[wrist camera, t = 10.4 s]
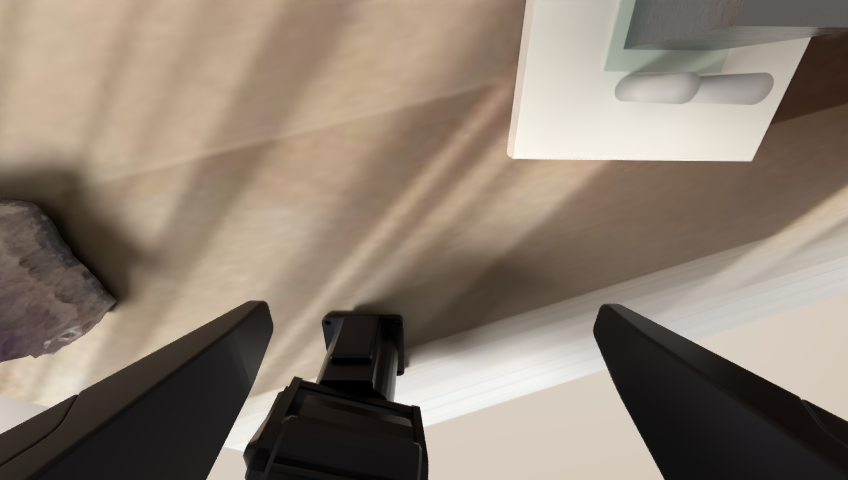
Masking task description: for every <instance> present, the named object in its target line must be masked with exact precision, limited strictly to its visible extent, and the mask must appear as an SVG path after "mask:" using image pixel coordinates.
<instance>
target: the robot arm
mask: <svg viewBox="0 0 848 480" xmlns="http://www.w3.org/2000/svg"><path fill="white" fill-rule="evenodd" d="M327 320H328V321H330V322H328V321H327ZM395 321H399V322H398V323H397V322H395ZM322 327H323V332H324V338H325V344H326V349H327V354H326V356H325V359H324V362H323V365H322V367H321V370H320V373H319V375H318V378H317V381H316V383H313V382H309V381H305V380H302V379H303V378H299V377H295V376H294V378H293V380H292V382H291V384H290V385H289V387H288V386H286V388H285V389H284V391H282V392H279V393H278V395H277V397H276V399H275V401H274V403H273V406H272V408H271V410H270V412H269V413H268V415H267V417H266V419H265V420H264V422H263V423H262V424H261V426H260V427H259V429H258V430H257V432H256V433H255V434H254V436H253V437H252V439H251V440H250V441H249V443H248V445H247V447H246V449H245V451H244V454H243V458H244V460H245V463H246V466H247V471H246V474H245V479H246V480H428V454H427V448H426V442H425V436H424V430H423V424H422V417H421V411H420V407H419V406H414V405H412V406H408V405H404V404H400V403H396V402H394V395H395V385H396V376H401V375H403V374H404V329H403V318H402V317H401V316H398V315H326V316H324V318H323V320H322ZM272 333H273V322H272V318H271V314H270V310H269V307H268V304H267V302H265V301H248V302H246V303H244V304H242V305H240V306H238V307H237V308H235V309H233V310H231V311H229V312H227V313H226V314H224V315H222V316H220V317H218V318H216V319H214V320H213V321H211V322H209V323H207V324H205V325H203V326H201V327H200V328H198V329H196V330H194V331H192V332H190V333H188V334H187V335H185V336H183V337H181V338H179V339H177V340H176V341H174V342H172V343H170V344H168V345H166V346H164V347H163V348H161V349H159V350H157V351H155V352H153V353H151V354H150V355H148V356H146V357H144V358H142V359H140V360H138V361H137V362H135V363H133V364H131V365H129V366H127V367H125V368H124V369H122V370H120V371H118V372H116V373H114V374H113V375H111V376H109V377H107V378H105V379H103V380H101V381H100V382H98V383H96V384H94V385H92V386H90V387H88V388H87V389H85V390H83V391H81V392H80V393H79V395H73V396H72V397H70V398H68V399H66V400H64V401H62V402H60V403H59V404H57V405H55V406H53V407H51V408H49V409H48V410H46V411H44V412H42V413H40V414H38V415H36V416H34V417H32V418H30V419H29V420H27V421H25V422H23V423H21V424H19V425H17V426H15V427H13V428H11V429H10V430H8V431H6V432H4V433H2V434H0V480H206V479H207V477H208V475H209V473H210V471H211V469H212V467H213V465H214V463H215V461H216V459H217V457H218V455H219V453H220V450H221V449H222V447H223V445H224V443H225V441H226V439H227V437H228V435H229V433H230V431H231V429H232V427H233V425H234V423H235V421H236V419H237V417H238V415H239V413H240V411H241V409H242V407H243V405H244V403H245V401H246V399H247V397H248V395H249V392H250V390H251V388H252V386H253V383H254V381H255V379H256V376H257V373H258V371H259V368H260V365H261V363H262V360H263V357H264V355H265V352H266V349H267V347H268V344H269V341H270V339H271V336H272ZM593 333H594V337H595V339H596V342H597V344H598V347H599V349H600V351H601V354H602V356H603V359H604V361H605V363H606V366H607V368H608V371H609V373H610V376H611V378H612V380H613V383H614V385H615V387H616V389H617V391H618V393H619V395H620V397H621V399H622V401H623V403H624V405H625V407H626V409H627V410H628V412H629V414H630V416H631V418H632V420H633V422H634V424H635V425H636V427H637V429H638V431H639V433H640V435H641V437H642V438H643V440H644V442H645V444H646V446H647V448H648V449H649V452H650V453H651V455H652V457H653V459H654V461H655V463H656V464H657V466H658V468H659V470H660V472H661V474H662V476H663V478H664V480H848V421H846V420H844V419H842V418H840V417H838V416H836V415H834V414H832V413H830V412H828V411H826V410H824V409H822V408H820V407H818V406H816V405H814V404H812V403H810V402H809V401H807V400H801V399H800V397H798V396H797V395H795V394H793V393H791V392H789V391H787V390H785V389H783V388H781V387H779V386H777V385H775V384H773V383H772V382H769V381H768V380H766V379H764V378H762V377H760V376H758V375H756V374H754V373H752V372H750V371H748V370H746V369H744V368H742V367H740V366H738V365H737V364H735V363H733V362H731V361H729V360H727V359H725V358H723V357H721V356H719V355H717V354H715V353H713V352H711V351H709V350H707V349H705V348H704V347H702V346H700V345H698V344H696V343H694V342H692V341H690V340H688V339H686V338H684V337H682V336H680V335H678V334H676V333H674V332H672V331H671V330H669V329H667V328H665V327H663V326H661V325H659V324H657V323H655V322H653V321H651V320H649V319H647V318H645V317H643V316H641V315H639V314H638V313H636V312H634V311H632V310H630V309H628V308H626V307H624V306H622V305H620V304H603V305H602V306H601V307H600V309H599V312H598V315H597V318H596V321H595V324H594V328H593Z"/></svg>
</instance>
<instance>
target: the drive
mask: <svg viewBox="0 0 848 480" xmlns="http://www.w3.org/2000/svg"><path fill="white" fill-rule="evenodd" d="M843 32H848V0H636V1H635V5H634V9H633V13H632V17H631V21H630V25H629V29H628V33H627V37H626V40H625V44H624V48H623V49H628V50H710V51H715V50H723V49H730V48H737V47H744V46H751V45H758V44H765V43H772V42H779V41H786V40H793V39H801V38H808V37H815V36H822V35H829V34H836V33H843Z"/></svg>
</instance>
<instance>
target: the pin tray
mask: <svg viewBox="0 0 848 480" xmlns="http://www.w3.org/2000/svg"><path fill="white" fill-rule="evenodd" d="M635 1H636V0H526V7H525V15H524V23H523V31H522V39H521V46H520V54H519V62H518V70H517V78H516V85H515V93H514V101H513V109H512V117H511V125H510V132H509V140H508V148H507V155H509V156H510V157H511V158H513V159H580V160H680V161H752V159H753V157H754V155H755V153H756V151H757V149H758V147H759V145H760V143H761V141H762V139H763V137H764V135H765V132H766V130H767V128H768V126H769V124H770V122H771V120H772V118H773V116H774V114H775V112H776V110H777V108H778V106H779V103H780V101H781V99H782V97H783V95H784V93H785V91H786V89H787V87H788V85H789V83H790V81H791V79H792V77H793V74H794V72H795V70H796V68H797V66H798V64H799V62H800V60H801V58H802V56H803V54H804V52H805V50H806V48H807V45H808V43H809V41H810V39H811V37H808V38H801V39H793V40H786V41H779V42H772V43H765V44H758V45H751V46H744V47H737V48H730V49H723V50H715V51H710V50H628V49H623V48H624V44H625V40H626V37H627V33H628V29H629V25H630V21H631V17H632V13H633V9H634V5H635Z"/></svg>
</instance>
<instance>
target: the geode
mask: <svg viewBox="0 0 848 480" xmlns="http://www.w3.org/2000/svg"><path fill="white" fill-rule="evenodd" d="M115 302H116V300H115V299H114V298H113V297H112V296H111V295H110V294H109V293H108V292H106V291H105V289H104V287H103V285H102V284H101V283H100V282H99V281H98V279H97V278H96V277H95V276H94V275H93V274H92V273H91V272H90V271H89V270H88V269H87V268H86V267H85V265H83V264H82V263H81V262H80V261H79V260H78V259H77V258H76V257H75V256H74V255H73V253H72V251H71V249H70V247H69V246H68V245H67V244H66V243H65V242H64V241H63V239H62V237H61V235H60V234H59V232H58V230H57V228H56V226H55V224H54V222H53V221H52V220H51V219H50V218H49V217H48V216H47V214H46V213H45V212H44V211H43V210H41V209H40V208H39V207H38V206H37V205H35V204H33V203H31V202H29V201H21V200H16V199H4V200H0V363H1V362H3V361H8V360H13V359H18V358H23V357H26V356H29V355H31V356H33V357H34V358H37V357H39V356H41V355H43V354H55V353H56V352H57V351H58V350H59V349H60V348H62V347H63V346H66V345H69V344H70V343H71V342H73V341H75V340H77V339H78V338H80V337H81V336H83V335H85V334H86V333H87V332H88V331H90V330H91V329H92V328H93V327H94V326H95V324H97V323H99V322H100V321H101V320H102V318H103V316H104V315H105V314H106V312H107V311H108V310H109V309H110V308H111V307H112V306H113V305H114V303H115Z"/></svg>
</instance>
